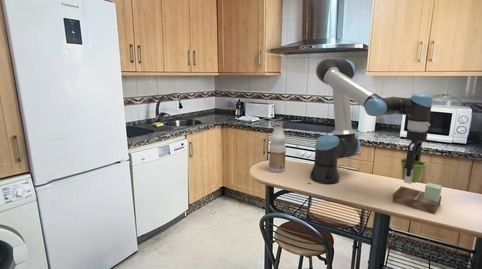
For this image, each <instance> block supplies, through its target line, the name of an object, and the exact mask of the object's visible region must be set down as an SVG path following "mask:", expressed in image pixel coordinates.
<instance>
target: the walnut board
mask: <svg viewBox="0 0 482 269" xmlns="http://www.w3.org/2000/svg"><path fill="white" fill-rule="evenodd" d="M424 193H425V191H423V190H417V189H414V188H410V187H406V186H400V187H399V188H398V189H396V190H395V192H393V193H392V194H393V195H392V203H394V204H397V205H401V206H405V207H409V208H410V209H411V208H412V209H416V210H418V211H422V212H426V213H429V214H432V215H436V212H437V211H438V209H439V207H440V205H441V201H442V196H441V195H440V199H439V201H438V202H434V201H430V200H426V199H424Z"/></svg>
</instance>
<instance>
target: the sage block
mask: <svg viewBox="0 0 482 269" xmlns="http://www.w3.org/2000/svg"><path fill="white" fill-rule="evenodd" d="M442 188H443V185H440V184H436V183H431V182H427V183H426V184H425V188H424V192H425V193H424V199H426V200H430V201H434V202H438V201H439V199H440V196H441V195H442V194H441V192H442Z"/></svg>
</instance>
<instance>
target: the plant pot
mask: <svg viewBox="0 0 482 269" xmlns="http://www.w3.org/2000/svg"><path fill="white" fill-rule="evenodd" d="M400 163H401V179H402V181H404V178H405V171H406V168H404V167H405V163H406V158H403V159H400ZM425 166H426V163H425V162H423V161H421V160H420V161H414V165H413V176H412V183H413V184H416V183H418V182H419V179H420V177H421V175H422V174H421V173H422V171H423V169H424V167H425ZM412 183H411V184H412Z"/></svg>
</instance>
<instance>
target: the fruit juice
mask: <svg viewBox="0 0 482 269" xmlns="http://www.w3.org/2000/svg"><path fill="white" fill-rule="evenodd" d="M283 126H284V124H283V123H280V122H274V124H273V127H274V129H273V132H272V134H270V137H269V140H270V141H269V142H270V144H269V153H268V154H269V155H268V156H269V158H268V170H269V171H270V172H271V171H272V173H276V174H277V173H284V172H285V170H286V153H287V151H286V150H287V149H286V140H287V138H286V135H285V133H284V129H283Z"/></svg>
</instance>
